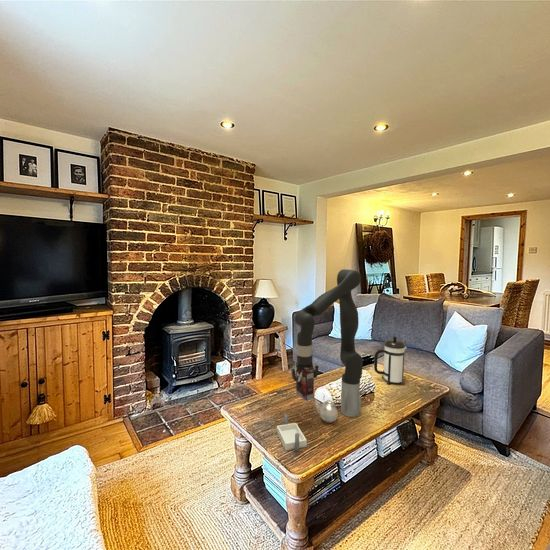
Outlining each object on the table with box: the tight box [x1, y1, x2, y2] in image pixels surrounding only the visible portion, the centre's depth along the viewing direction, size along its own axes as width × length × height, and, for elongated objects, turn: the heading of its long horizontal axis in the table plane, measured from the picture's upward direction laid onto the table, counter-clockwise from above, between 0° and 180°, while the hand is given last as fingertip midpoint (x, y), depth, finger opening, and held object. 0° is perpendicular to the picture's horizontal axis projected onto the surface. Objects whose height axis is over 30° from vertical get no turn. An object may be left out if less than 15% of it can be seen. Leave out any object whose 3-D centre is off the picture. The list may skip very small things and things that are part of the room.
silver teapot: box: [319, 399, 339, 423], centre depth 150 cm, size 9×10×10 cm
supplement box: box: [295, 363, 315, 403], centre depth 146 cm, size 9×5×16 cm, turn 31°
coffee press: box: [373, 335, 407, 386], centre depth 195 cm, size 17×16×30 cm
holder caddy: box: [276, 413, 308, 452], centre depth 136 cm, size 10×17×7 cm, turn 16°
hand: (304, 386), depth 147 cm, fingers closed on supplement box, 5 cm apart
